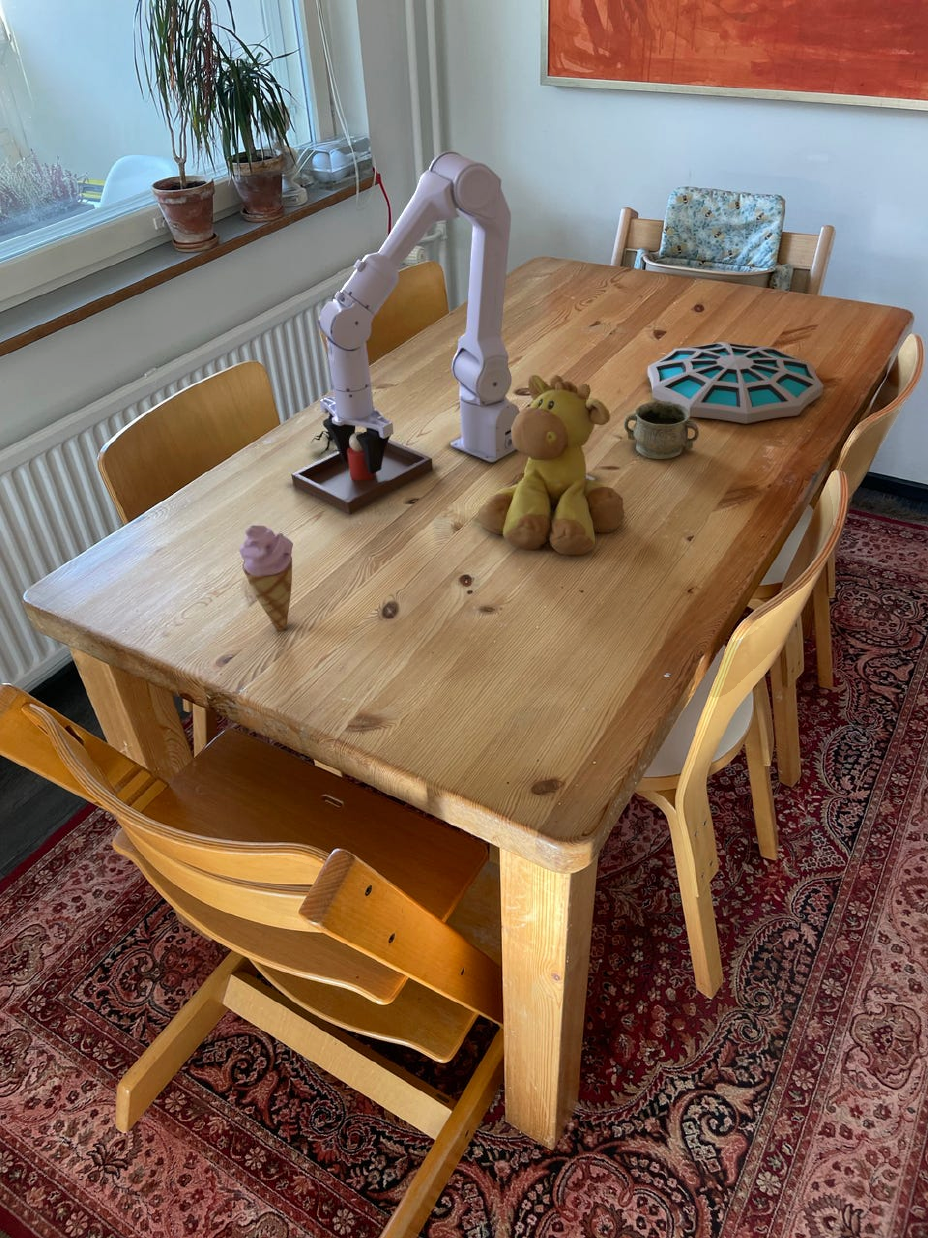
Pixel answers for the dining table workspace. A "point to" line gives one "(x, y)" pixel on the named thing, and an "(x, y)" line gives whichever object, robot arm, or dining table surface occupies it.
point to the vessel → (661, 429)
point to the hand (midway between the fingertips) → (362, 465)
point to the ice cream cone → (269, 571)
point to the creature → (327, 438)
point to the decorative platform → (735, 382)
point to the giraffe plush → (554, 474)
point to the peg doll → (357, 460)
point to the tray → (351, 495)
